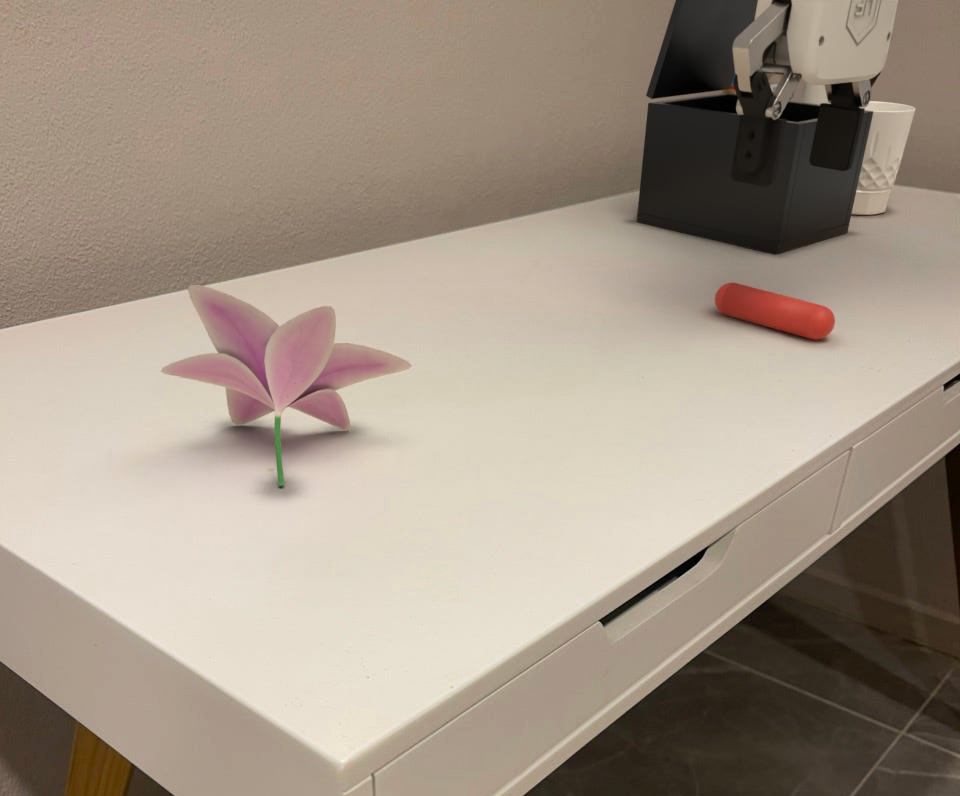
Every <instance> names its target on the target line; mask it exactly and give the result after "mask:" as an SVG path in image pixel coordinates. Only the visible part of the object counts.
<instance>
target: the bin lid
mask: <svg viewBox="0 0 960 796" xmlns="http://www.w3.org/2000/svg"><path fill="white" fill-rule="evenodd" d="M757 3H758V0H675V1H674V4H673V8H672V11H671V14H670V18H669V20H668V24H667V27H666V30H665V33H664V36H663V40H662V43H661V46H660V49H659V53H658V56H657V59H656V61H655V65H654V69H653V72H652V75H651V78H650V81H649V84H648V87H647V91H646V93H645V96H646V98H647V97H648V98H649V99H650V100H655V99H663V98H671V97H679V96H688V95H693V94H694V95H695V94H702V93H711V92H717V91H723V90H727V89H730V86H731V83H732V81H733V78H734V75H735V68H734V60H733V51H732V47H733V43H734V40H735V39H736V37H737V36H738V35H740V34H741V33H742V32H743V31H744V30H745V29H746V28H747V27H748V26H749V25H750V24H751V23H752V22H753V21H754V20H755V14H756V8H757Z"/></svg>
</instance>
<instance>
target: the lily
mask: <svg viewBox="0 0 960 796" xmlns="http://www.w3.org/2000/svg"><path fill="white" fill-rule="evenodd" d="M187 292H188V295H189V299H190V301H191V303H192V305H193V307H194V309H195V311H196V314H197V316H199V319H200V321H201V323H202V324H203V327H204V329H205V331H206V333H207V335H208V337H209V339H210V342H211V343H212V345H213V347H214V349H215V350H216V352H209V353H203V354H197V355H193V356H189V357H185V358H183V359H179V360H177V361H174V362H172V363H169V364H168V365H165V366H164V367H162V368H161V370H160V372H161V373H162V374H164V375H168V376H173V377H178V378H183V379H187V380H192V381H197V382H201V383H205V384H209V385H214V386H218V387H222V388H223V387H224V388H225V395H226V396H225V397H226V404H227V410H228V415H229V418H230V420H231V422H232V423H233V424H235V425H236V426H240V425H246V424H248V423H251V422H253V421H255V420H258V419H260V418H262V417H265V416H266V415H269V414H272V413H273V412H274V447H275V460H276V472H277V482H278V487H284V486H285V479H284V469H283V457H282V455H283V454H282V444H281V423H282V414H283V412H284V410H285V409H286V408H291V409H292V410H296V411H298V412H300V413H302V414H305V415H308V416H310V417H313V418H315V419H317V420H319V421H322V422H324V423H327V424H329V425H331V426H333V427H336V428H338V429H341V430H344V431H350V429H351V420H350V416H349V412H348V410H347V406H346V403H345V401H344V400H343V398H342V396H341V395H340V394H339V393H338V392H337V391H338V390H341V389H344V388H347V387H349V386H352V385H354V384H359V383H362V382H364V381H367V380H371V379H375V378H380V377H383V376H388V375H393V374H397V373H401V372H404V371H407V370H409V369H410V368H411V367H413V365H412V364H411V363H410V362H409V360H406V359H404V358H402V357H400V356H398V355H395V354H392V353H389V352H387V351H384V350H381V349H377V348H374V347H370V346H366V345H364V344H363V345H361V344H358V343H357V344H356V343H351V342H350V343H349V342H339V343H337V342H336V343H335V338H336V328H337V323H336V322H337V321H336V318H337V317H336V311H335V308H333V306H330V305H323V306H319V307H314V308H313V309H310V310H307V311H305V312H303V313H301V314H299V315H298V314H297V315H296V316H295V317H292V318H291V319H289V320H287V321H286V322H284V323H283V324H281V325H279V324H278V323H277V322H276V321H275V320H274V319H273V318H271V316H269V315H268V314H267V313H266V312H265V311H263V310H260V309H259V308H257V307H255V306H254V305H252V304H251V303H249V302H246V301H243V300H242V299H239V298H237V297H235V296H233V295H231V294H228V293H226V292H224V291H223V292H222V291H220V290H217V289H215V288H211V287H208V286H204V285H201V284H189V286H188V288H187Z"/></svg>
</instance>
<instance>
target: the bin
mask: <svg viewBox="0 0 960 796" xmlns="http://www.w3.org/2000/svg"><path fill="white" fill-rule="evenodd" d="M737 101H738V97H737V94H731V93H722V92H721V93H713V94H707V95H699V96H692V97H691V96H690V97H684V98H677V99H668V100H659V101H653V102H648V103H647V111H646V112H647V113H646V122H645V130H644V131H645V133H644V143H643V151H642V152H643V153H642V161H641V173H640V183H639V184H640V185H639V192H638V204H637V214H636V222H637V223H640V224H644V225H648V226H653V227H658V228H662V229H666V230H670V231H675V232H679V233H683V234H688V235H692V236H696V237H701V238H704V239H708V240H712V241H713V240H714V241H718V242H722V243H725V244H730V245H734V246H739V247H743V248H747V249H752V250H756V251H760V252H765V253H769V254H772V255H773V254H774V255H778V254H782V253H784V252H788V251H791V250H795V249H798V248H801V247H805V246H808V245H812V244H814V243H818V242H822V241H825V240H828V239H833V238H835V237H838V236H842V235H846V234H848V233H849V228H850V227H849V226H850V222H851V218H852V215H853V214H852V209H853V204H854V200H855V195H856V190H857V186H858V181H859V177H860V172H861V167H862V163H863V158H864V153H865V149H866V144H867V139H868V135H869V130H870V125H871V121H872V116H873V111H867V110H865V111H864V115H863V120H862V124H861V129H860V133H859V138H858V142H857V147H856V151H855V156H854V160H853V165H852V167H851V169H849V170H846V171H840V170H834V169H828V168H823V167H817V166H812V165H811V164H810V162H809V159H810V154H811V149H812V144H813V139H814V134H815V129H816V124H817V119H818V114H819V109H820V105H819V104H811V103H803V102H801V101H794V100H793V101H788V103H787V105H786V107H785V108H784V110H783V112H782V114H781V115H780V117H779V118H780V119H786V120H787V121H786V127H785V132H784V138H783V143H782V149H781V154H780V159H779V165H778V170H777V176H776V181H775V183H774V185H772V186H769V187H763V186H757V185H752V184H747V183H742V182H737V181H734V180H732V178H731V170H732V164H733V157H734V151H735V145H736V139H737V132H738V126H739V120H740V115H739V114H738V113H737V111H736V104H737Z"/></svg>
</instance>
